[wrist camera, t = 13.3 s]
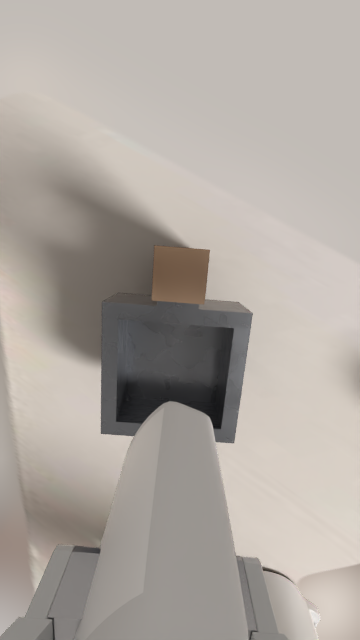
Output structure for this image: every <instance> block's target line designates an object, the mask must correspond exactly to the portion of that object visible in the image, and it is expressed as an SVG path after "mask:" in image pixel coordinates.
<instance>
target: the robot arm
mask: <svg viewBox="0 0 360 640" xmlns="http://www.w3.org/2000/svg"><path fill="white" fill-rule="evenodd" d="M100 551H101V548H97V547H84V546H76V545H60V544H58V546H57V547H56V549H55V550H54V552H53V554H52V556H51V558H50V561H49V563H48V565H47V567H46V570H45V572H44V574H43V577H42V579H41V581H40V583H39V586H38V588H37V590H36V593H35V595H34V597H33V599H32V602H31V604H30V606H29V609H28V611H27V613H26V615H25V617H19V618H18V619H17V620H16V621H15V622H14V623H13V624H12V625H11V626H10V627H9V628H8V629H7V630H6V631H5V632H4V633H3V634H2V635H1V636H0V640H74V637H75V635H76V632H77V629H78V627H79V625H80V622H81V620H82V618H83V614H84V610H85V607H86V603H87V599H88V596H89V592H90V588H91V585H92V581H93V578H94V574H95V570H96V567H97V563H98V559H99V556H100ZM236 559H237V565H238V571H239V577H240V583H241V590H242V596H243V602H244V608H245V615H246V621H247V627H248V638H249V640H319V638H318V635H317V631H316V626H317V624H318V622H319V620H320V615H319V611H318V608H317V607H316V606H315V605H314V604H313V603H311V602H310V601H308V600H306V599H305V598H304V597H303V596H302V594H301V592H300V591H299V589H298V588H297V587H296V585H295V584H294V583H292V582H291V581H290V580H288V579H287V578H285V577H283V576H281V575H279V574H276V573H273V572H268V571H263V569H262V566H261V562H260V561H259V559H258V558H257V557H240V556H236Z"/></svg>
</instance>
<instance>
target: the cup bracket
mask: <svg viewBox="0 0 360 640" xmlns="http://www.w3.org/2000/svg"><path fill="white" fill-rule="evenodd" d="M209 253H210V250H205V249H192V248H180V247H167V246H155V245H154V263H153V282H152V295H141V294H128V293H117V294H115V295H113V296H112V297H110V298H108V299H106V300H104V301H103V302H102V372H101V434H112V435H126V436H135V434H136V432H137V431H138V429H139V428H140V426H141V425H142V424H143V422H144V421H145V420H146V419H147V418H148V417H149V416H150V415H151V414H152V413H153V412H154V411H155V410H156V409H157V408H158V407H159V406H161V405H162V404H164V403H166V402H169V401H173V402H178V403H181V404H184V405H186V406H188V407H191V408H193V409H196V410H198V411H201V412H203V413H205V414H206V415H207V416H209V417H210V420H211V422H212V426H213V431H214V436H215V442H223V443H234V440H235V433H236V426H237V419H238V412H239V405H240V398H241V391H242V384H243V377H244V370H245V363H246V356H247V350H248V343H249V336H250V329H251V322H252V315H253V313H252V312H250V311H249V310H248V309H246V308H245V307H244V306H243V305H241V304H240V303H239V302H231V301H218V300H205V293H206V283H207V273H208V263H209Z"/></svg>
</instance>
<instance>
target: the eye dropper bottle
mask: <svg viewBox="0 0 360 640" xmlns="http://www.w3.org/2000/svg"><path fill="white" fill-rule="evenodd" d="M100 548H101V551H100V556H99V559H98V563H97V567H96V570H95V574H94V578H93V581H92V585H91V588H90V592H89V596H88V599H87V603H86V607H85V610H84V614H83V618H82V620H81V622H80V625H79V627H78V629H77V632H76V635H75V637H74V640H249V638H248V627H247V621H246V615H245V608H244V602H243V596H242V590H241V583H240V577H239V571H238V565H237V559H236V553H235V548H234V542H233V536H232V531H231V525H230V519H229V514H228V508H227V503H226V497H225V491H224V486H223V480H222V475H221V469H220V464H219V458H218V453H217V447H216V442H215V436H214V431H213V426H212V422H211V420H210V417H209V416H207V415H206V414H205V413H203V412H201V411H198V410H196V409H193V408H191V407H188V406H186V405H184V404H181V403H178V402H173V401H169V402H166V403H164V404H162V405H161V406H159V407H158V408H157V409H156V410H155V411H154V412H153V413H152V414H151V415H150V416H149V417H148V418H147V419H146V420H145V421H144V422H143V424H142V425H141V426H140V428H139V429H138V431H137V432H136V434H135V436H134V437H133V439H132V441H131V444H130V446H129V448H128V451H127V454H126V457H125V460H124V464H123V467H122V471H121V474H120V478H119V481H118V485H117V488H116V492H115V495H114V499H113V502H112V506H111V509H110V513H109V517H108V520H107V524H106V527H105V531H104V534H103V538H102V541H101V545H100Z"/></svg>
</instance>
